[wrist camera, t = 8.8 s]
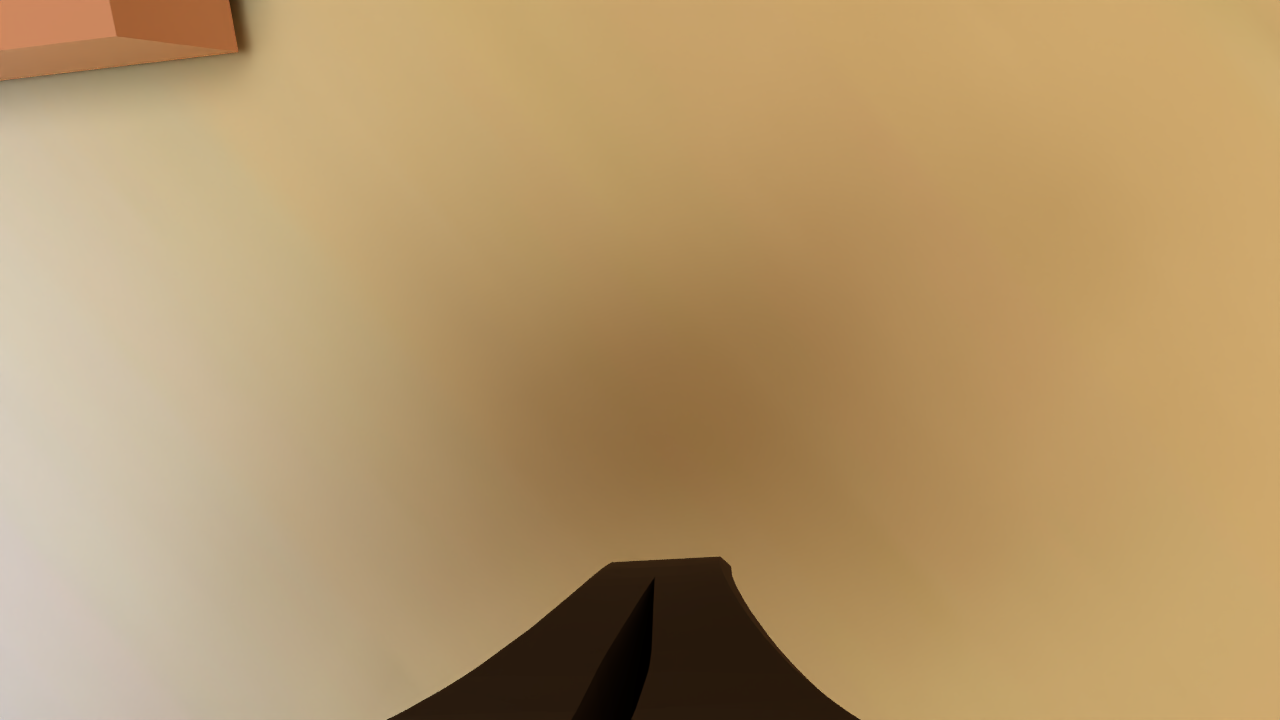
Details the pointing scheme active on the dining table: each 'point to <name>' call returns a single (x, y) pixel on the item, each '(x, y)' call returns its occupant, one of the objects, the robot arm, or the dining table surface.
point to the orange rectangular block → (108, 33)
